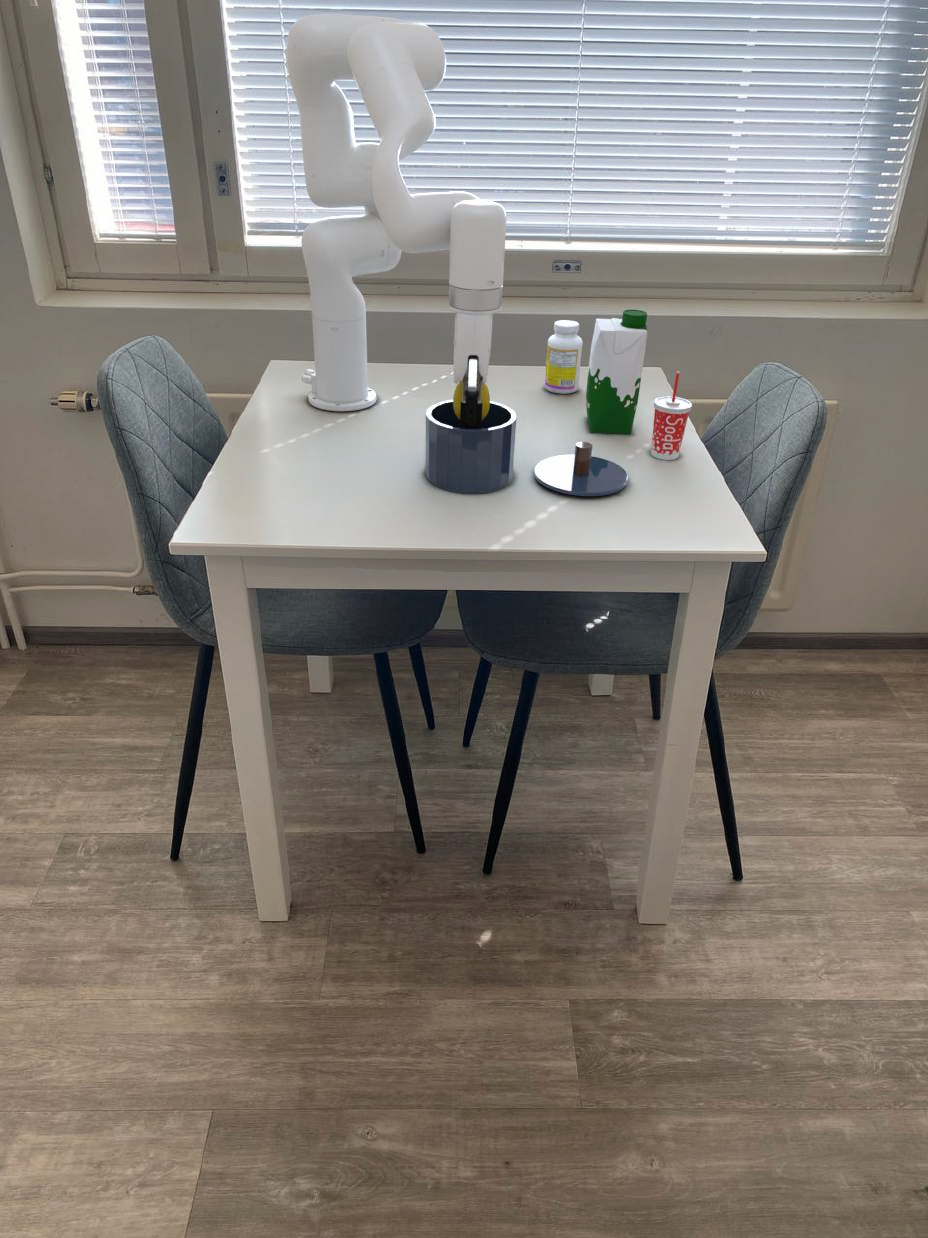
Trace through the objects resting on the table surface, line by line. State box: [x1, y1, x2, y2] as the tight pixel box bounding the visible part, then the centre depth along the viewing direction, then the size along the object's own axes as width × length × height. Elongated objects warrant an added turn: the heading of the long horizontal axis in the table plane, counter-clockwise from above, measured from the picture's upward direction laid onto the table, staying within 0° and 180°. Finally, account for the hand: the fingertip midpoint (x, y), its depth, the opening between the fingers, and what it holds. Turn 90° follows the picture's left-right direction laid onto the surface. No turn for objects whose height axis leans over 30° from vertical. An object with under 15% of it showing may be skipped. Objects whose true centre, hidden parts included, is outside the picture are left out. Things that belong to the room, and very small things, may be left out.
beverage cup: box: [650, 371, 693, 461], centre depth 146 cm, size 6×6×14 cm
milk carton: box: [585, 309, 648, 435], centre depth 155 cm, size 9×9×20 cm
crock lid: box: [533, 441, 629, 497], centre depth 139 cm, size 15×15×6 cm
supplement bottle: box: [544, 319, 583, 395], centre depth 173 cm, size 7×7×13 cm
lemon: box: [452, 378, 491, 420], centre depth 134 cm, size 6×6×8 cm
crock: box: [424, 399, 517, 495], centre depth 138 cm, size 14×14×10 cm
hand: (470, 419), depth 136 cm, fingers closed on lemon, 5 cm apart
